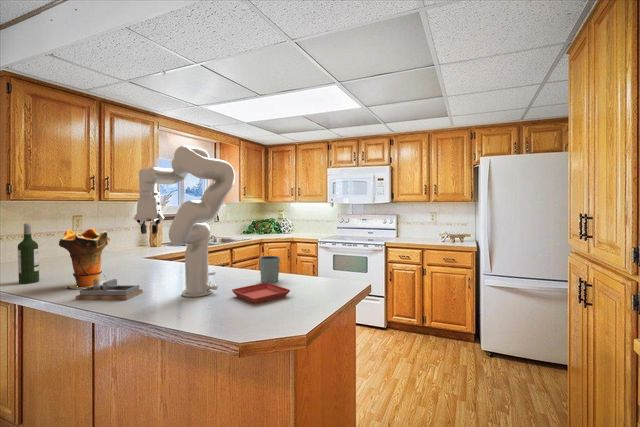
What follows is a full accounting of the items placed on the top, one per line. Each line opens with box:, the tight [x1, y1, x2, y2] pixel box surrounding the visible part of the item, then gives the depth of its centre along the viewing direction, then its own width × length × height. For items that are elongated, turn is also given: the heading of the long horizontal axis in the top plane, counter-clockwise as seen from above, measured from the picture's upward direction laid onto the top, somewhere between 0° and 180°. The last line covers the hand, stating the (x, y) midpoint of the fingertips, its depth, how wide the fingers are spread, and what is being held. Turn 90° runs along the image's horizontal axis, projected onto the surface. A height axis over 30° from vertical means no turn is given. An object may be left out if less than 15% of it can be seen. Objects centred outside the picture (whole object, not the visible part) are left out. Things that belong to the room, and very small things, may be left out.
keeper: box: [75, 278, 144, 301], centre depth 143 cm, size 22×11×8 cm, turn 87°
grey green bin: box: [259, 255, 281, 284], centre depth 168 cm, size 10×10×12 cm
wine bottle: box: [17, 222, 40, 285], centre depth 170 cm, size 8×8×30 cm
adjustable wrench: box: [209, 270, 217, 276], centre depth 177 cm, size 25×6×2 cm, turn 165°
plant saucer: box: [231, 282, 291, 305], centre depth 140 cm, size 18×18×3 cm
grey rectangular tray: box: [79, 278, 140, 296], centre depth 143 cm, size 20×9×5 cm, turn 87°
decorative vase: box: [58, 227, 111, 290], centre depth 163 cm, size 21×23×28 cm
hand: (149, 233), depth 159 cm, fingers open, 4 cm apart
